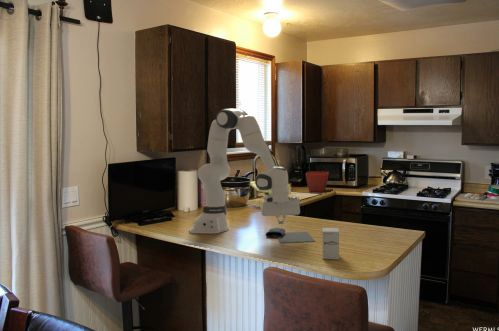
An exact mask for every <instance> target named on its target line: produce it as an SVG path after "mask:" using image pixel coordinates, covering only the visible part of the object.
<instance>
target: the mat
mask: <svg viewBox="0 0 499 331" xmlns="http://www.w3.org/2000/svg"><path fill="white" fill-rule="evenodd" d="M276 239H277V240H278V242H279V244H289V243H290V244H291V243H296V244H297V243H312V242H313V243H314V242H316V240H315V239H314V238H313V236H312V235H310V233H309V232H308V231H296V232H295V231H294V232H293V231H292V232H291V231H290V232H285V233H284V234H283V236H282V237H276Z"/></svg>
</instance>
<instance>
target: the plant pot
mask: <svg viewBox="0 0 499 331" xmlns="http://www.w3.org/2000/svg"><path fill="white" fill-rule="evenodd" d="M329 173H330V172H329V171H307V172H306V173H305V179H306V180H305V181H306V184H307V188H308V191H309V193H325V192H326V188H327V185H328V184H327V183H328V178H329Z"/></svg>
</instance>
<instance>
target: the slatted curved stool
mask: <svg viewBox="0 0 499 331" xmlns="http://www.w3.org/2000/svg"><path fill="white" fill-rule="evenodd" d="M249 186H251V187H252V188H253V189H254V190H256V191H257V192H263V193H268V195H270V194H272V191H271V190H266V191H262V190H259V189H258V188H257V187H256V184H255V180H254V181H249ZM288 191H289V195H292V187H291V185H290V184H288ZM256 208H260V209H261V208H262V203H259V204H258V203H257V204H256Z"/></svg>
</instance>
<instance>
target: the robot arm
mask: <svg viewBox="0 0 499 331" xmlns="http://www.w3.org/2000/svg"><path fill="white" fill-rule="evenodd" d="M231 130H238V131H239V134H240V137H241V140H242V144H243V146H244V148H245V149H246V150H247V151H248V152H250V153H253V154H255V155H257V156H258V157H259V158H260V159H261V161H262V163H263V166H264V168H265V170H266V171H263V172H261V173H259V174H257V175H256V176H255V179H254V181H255V184H256V187H257V188H258V189H259V190H262V191H266V190H271V191H272V194H270V195H269V194H268V195H265V196H263V199H262V200H263V202H261V204H262V208H260V210H261V211H260V212H261V215H262V216H263V217H275V218H276V219H277V225H283V224H285V219H286V216H296V215H297V216H298V215H299V216H300V213H301V208H300V204H301V200H300V198H299V197H297V196H289V195H290V194H289V191H288V185H289V174H288V170H287V169H286V168H285V167H284V166H280V165H279V166H278V165H277V162H276V160H275V158H274V157H273V153H272V151H271V149H270V147H269V145H268V144H267V143H266V141H265V139H264V136H263V133H262V131H261V128H260V125H259V123H258V121H257V119H256V118H255V116H253V115H251V114H248V112H247V111H245V110H243V109H240V108H239V109H238V108H223V109H221V110H219V111H218V112H217V113H216V117H215V119H214V120H213V121H212V122H211V125H210V128H209V132H208V133H209V134H208V139H207V140H208V141H207V146H206V147H207V149H206V150H207V153H208V156H209V162H210V163H205V164H204V165H202V166H200V167H199V168H198V171H197V177H198V179H199V181H201V183H202V185H203V188H204V193H205V205H202V207H201V209H202V213H200V214H199V215H198V216H197V217H196V218H195V219H194V221H193V225H192V226H191V227H190V228H189V233H191V234H220V233H223V232H227V231H229V230H230V228H229V225H228V221H227V205H226V193H225V190H224V189H223V187H222V184H221V181H223V180H225V179H227V178H228V177H229V176H230V174H231V167H230V164H228V154H227V153H228V144H229V134H230V132H231ZM280 216H282V219H279V218H280Z"/></svg>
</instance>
